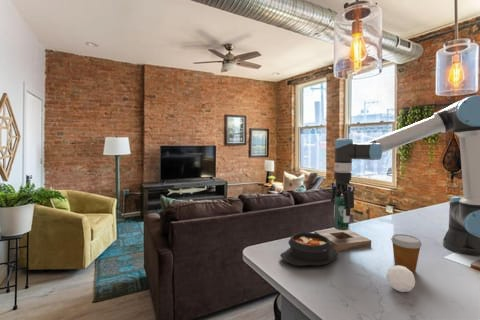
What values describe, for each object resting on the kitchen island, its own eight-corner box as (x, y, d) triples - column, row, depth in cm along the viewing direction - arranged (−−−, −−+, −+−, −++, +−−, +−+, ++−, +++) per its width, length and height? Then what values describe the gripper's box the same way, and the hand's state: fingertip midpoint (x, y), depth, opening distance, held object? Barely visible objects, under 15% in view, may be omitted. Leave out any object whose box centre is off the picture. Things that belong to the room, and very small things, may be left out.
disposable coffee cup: (425, 277, 90) (427, 243, 90) (395, 274, 92) (396, 241, 92) (413, 265, 100) (414, 234, 99) (386, 262, 102) (387, 232, 101)
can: (341, 231, 119) (342, 198, 118) (331, 227, 124) (332, 196, 123) (350, 229, 122) (352, 197, 121) (340, 225, 127) (341, 195, 126)
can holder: (371, 246, 117) (371, 240, 117) (336, 251, 112) (336, 244, 112) (345, 233, 135) (345, 227, 134) (314, 236, 130) (314, 231, 130)
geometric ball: (396, 300, 82) (382, 281, 81) (393, 280, 89) (380, 262, 88) (422, 296, 78) (408, 276, 77) (417, 275, 84) (404, 257, 83)
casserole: (301, 276, 92) (301, 253, 91) (270, 256, 108) (271, 236, 107) (349, 261, 103) (350, 240, 103) (315, 245, 120) (316, 227, 119)
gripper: (323, 169, 130) (322, 215, 131) (350, 174, 111) (348, 227, 113) (336, 169, 132) (335, 214, 133) (364, 173, 113) (362, 225, 115)
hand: (341, 220), depth 123 cm, fingers closed on can, 6 cm apart
